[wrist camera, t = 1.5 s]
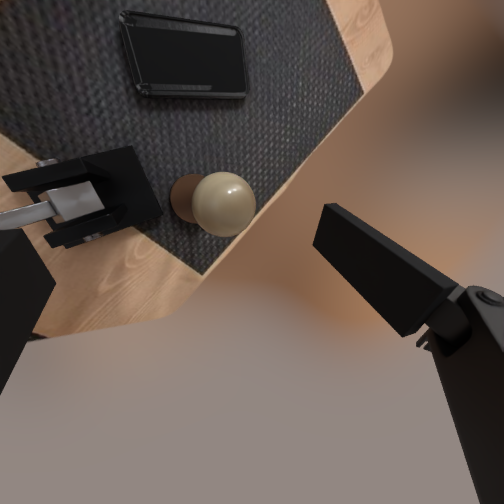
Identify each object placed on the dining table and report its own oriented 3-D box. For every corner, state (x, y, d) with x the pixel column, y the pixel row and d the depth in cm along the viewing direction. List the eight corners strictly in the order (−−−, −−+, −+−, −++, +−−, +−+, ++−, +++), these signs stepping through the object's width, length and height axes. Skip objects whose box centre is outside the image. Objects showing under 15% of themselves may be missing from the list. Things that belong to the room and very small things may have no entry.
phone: (115, 8, 23) (243, 27, 29) (116, 15, 24) (240, 32, 30) (138, 95, 26) (250, 96, 31) (138, 99, 27) (247, 99, 32)
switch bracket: (69, 246, 28) (6, 296, 15) (20, 174, 24) (-119, 158, 11) (162, 213, 31) (176, 231, 19) (132, 147, 28) (124, 112, 15)
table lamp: (160, 182, 30) (178, 177, 16) (207, 168, 32) (260, 152, 18) (180, 228, 33) (211, 261, 18) (222, 212, 35) (279, 230, 21)
